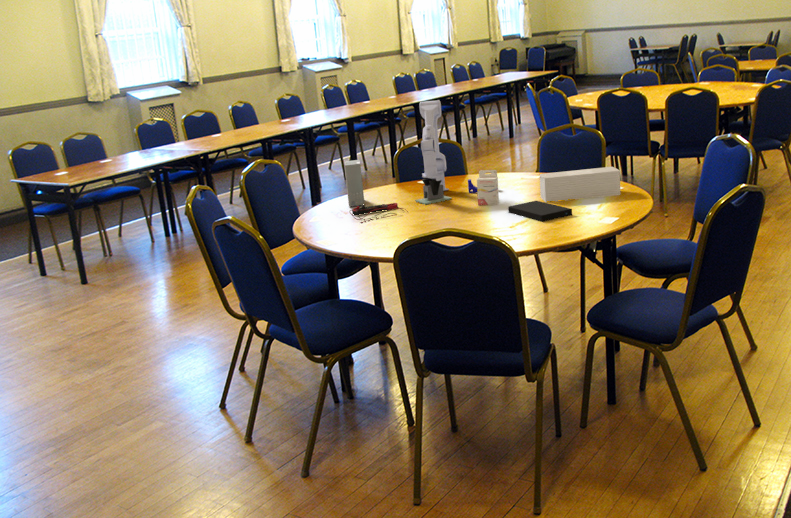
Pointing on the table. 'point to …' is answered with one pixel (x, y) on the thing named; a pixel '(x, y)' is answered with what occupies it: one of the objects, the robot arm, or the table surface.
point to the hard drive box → (354, 182)
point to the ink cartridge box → (487, 188)
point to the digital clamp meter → (374, 209)
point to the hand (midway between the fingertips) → (432, 194)
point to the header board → (432, 200)
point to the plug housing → (429, 194)
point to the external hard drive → (540, 211)
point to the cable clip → (471, 187)
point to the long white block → (580, 184)
